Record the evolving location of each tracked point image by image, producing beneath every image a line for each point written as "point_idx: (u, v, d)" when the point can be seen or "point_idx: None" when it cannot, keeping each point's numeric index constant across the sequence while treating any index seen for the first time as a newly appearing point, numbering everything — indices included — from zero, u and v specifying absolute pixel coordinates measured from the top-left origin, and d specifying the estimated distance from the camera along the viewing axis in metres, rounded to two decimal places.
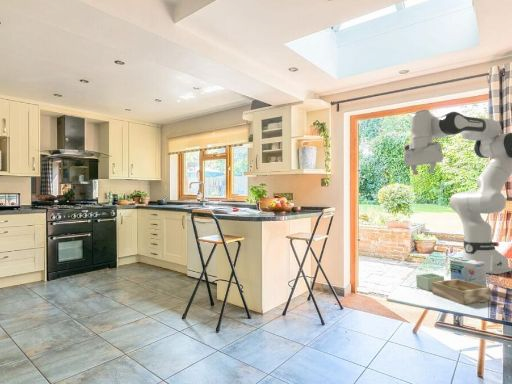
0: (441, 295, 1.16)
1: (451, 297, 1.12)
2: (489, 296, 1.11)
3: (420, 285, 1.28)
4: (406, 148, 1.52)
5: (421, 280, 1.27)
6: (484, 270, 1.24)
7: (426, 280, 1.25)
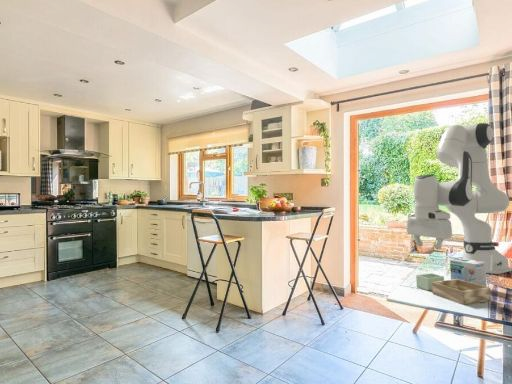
0: (441, 295, 1.16)
1: (451, 297, 1.12)
2: (489, 296, 1.11)
3: (420, 285, 1.28)
4: None
5: (421, 280, 1.27)
6: (484, 270, 1.24)
7: (426, 280, 1.25)
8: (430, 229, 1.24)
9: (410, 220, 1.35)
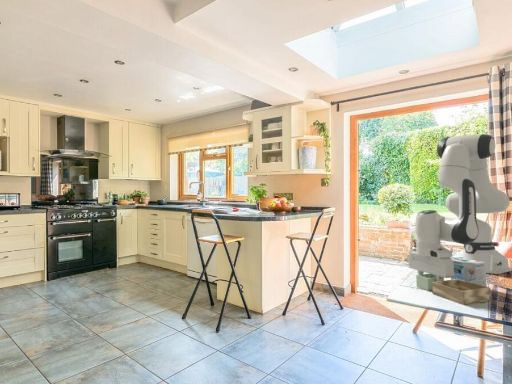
0: (441, 295, 1.16)
1: (451, 297, 1.12)
2: (489, 296, 1.11)
3: (420, 285, 1.28)
4: None
5: (421, 280, 1.27)
6: (484, 270, 1.24)
7: (426, 280, 1.25)
8: (432, 267, 1.24)
9: (412, 255, 1.34)
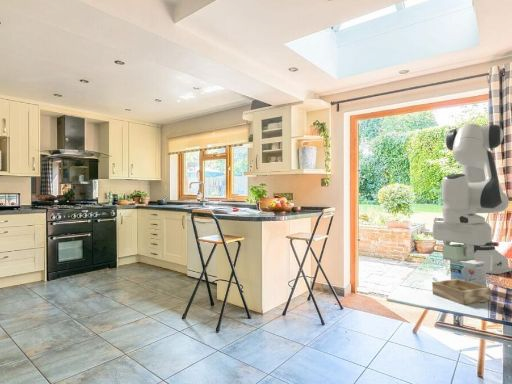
0: (441, 295, 1.16)
1: (451, 297, 1.12)
2: (489, 296, 1.11)
3: (447, 256, 1.16)
4: None
5: (448, 250, 1.15)
6: (484, 270, 1.24)
7: (455, 249, 1.12)
8: (462, 235, 1.12)
9: (437, 224, 1.22)
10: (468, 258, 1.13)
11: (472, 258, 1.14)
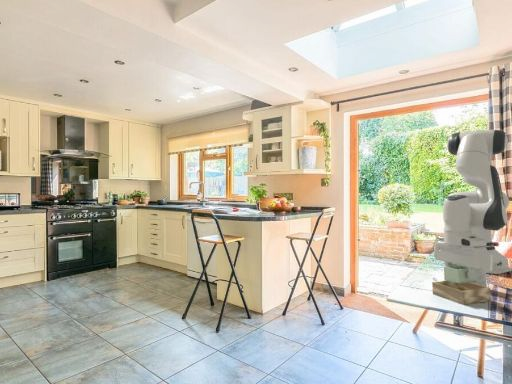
0: (441, 295, 1.16)
1: (451, 297, 1.12)
2: (489, 296, 1.11)
3: (449, 278, 1.15)
4: None
5: (450, 272, 1.15)
6: (484, 270, 1.24)
7: (456, 272, 1.12)
8: (463, 257, 1.12)
9: (438, 245, 1.22)
10: (470, 280, 1.13)
11: (474, 280, 1.13)
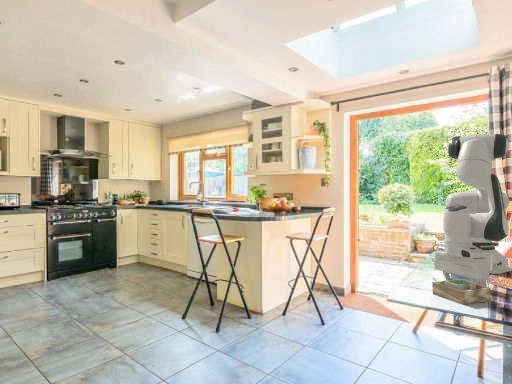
0: (441, 295, 1.16)
1: (451, 297, 1.12)
2: (489, 296, 1.11)
3: None
4: None
5: None
6: None
7: (456, 287, 1.12)
8: (463, 268, 1.12)
9: (439, 255, 1.22)
10: None
11: None
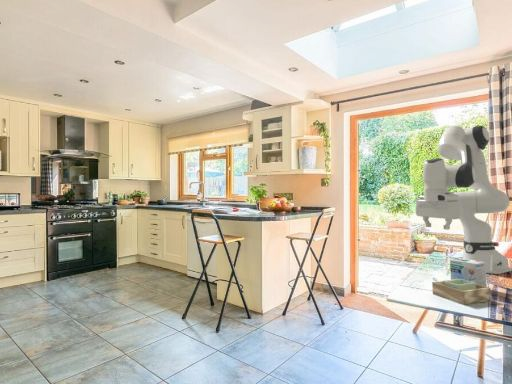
0: (441, 295, 1.16)
1: (451, 297, 1.12)
2: (489, 296, 1.11)
3: None
4: None
5: None
6: (484, 270, 1.24)
7: (456, 287, 1.12)
8: (439, 211, 1.30)
9: (419, 203, 1.41)
10: None
11: None
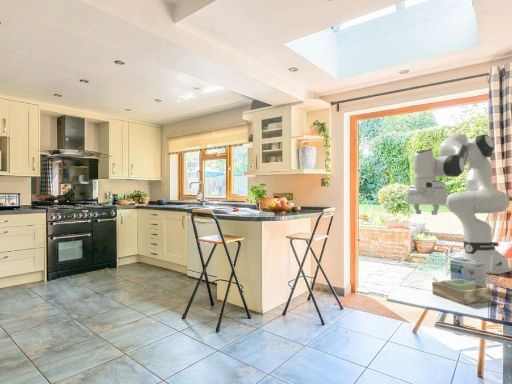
0: (441, 295, 1.16)
1: (451, 297, 1.12)
2: (489, 296, 1.11)
3: None
4: None
5: None
6: (484, 270, 1.24)
7: (456, 287, 1.12)
8: (428, 197, 1.40)
9: (410, 192, 1.51)
10: None
11: None
